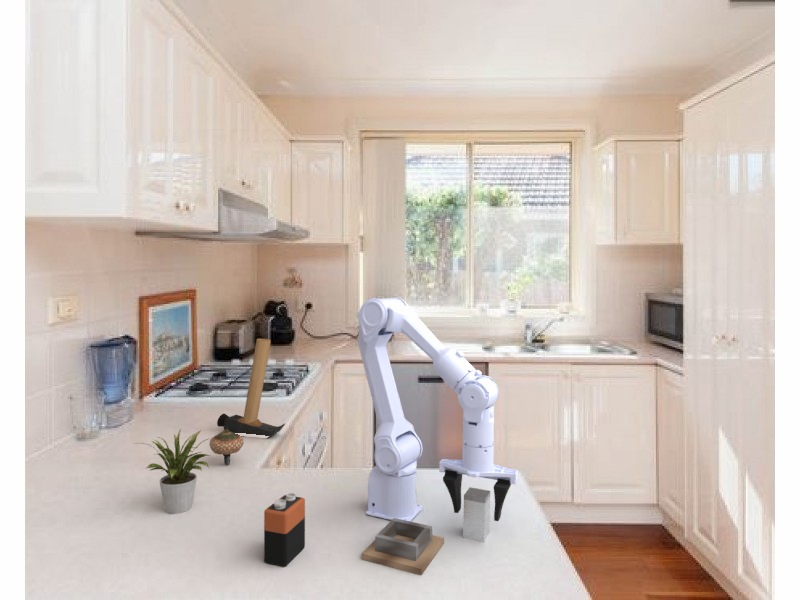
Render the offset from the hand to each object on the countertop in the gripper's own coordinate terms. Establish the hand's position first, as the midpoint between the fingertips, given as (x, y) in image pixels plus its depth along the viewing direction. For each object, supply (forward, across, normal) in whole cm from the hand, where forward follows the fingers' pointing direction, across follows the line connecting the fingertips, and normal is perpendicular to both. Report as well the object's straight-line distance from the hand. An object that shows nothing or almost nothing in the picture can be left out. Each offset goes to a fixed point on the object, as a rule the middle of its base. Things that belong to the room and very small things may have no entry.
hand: (477, 514), depth 95 cm
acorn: (+4, -67, +7) cm, 68 cm away
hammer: (+4, -79, +30) cm, 85 cm away
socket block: (+4, -10, -11) cm, 15 cm away
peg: (+4, 0, 0) cm, 4 cm away
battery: (+4, -28, -21) cm, 35 cm away
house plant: (+4, -59, -17) cm, 62 cm away
